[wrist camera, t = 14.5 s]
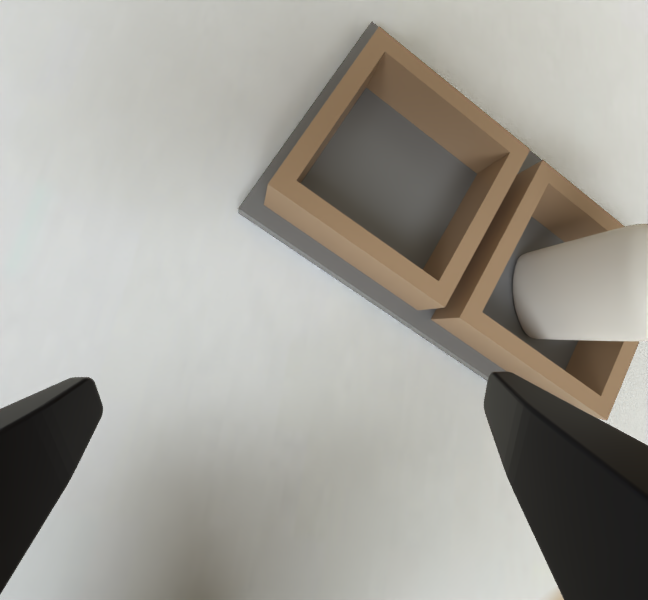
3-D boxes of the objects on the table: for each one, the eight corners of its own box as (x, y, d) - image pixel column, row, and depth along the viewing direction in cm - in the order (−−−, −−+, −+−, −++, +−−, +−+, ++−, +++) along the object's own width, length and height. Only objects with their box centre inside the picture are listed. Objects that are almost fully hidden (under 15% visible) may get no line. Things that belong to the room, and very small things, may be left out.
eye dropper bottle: (571, 272, 25) (861, 222, 13) (546, 348, 24) (834, 365, 12) (520, 243, 24) (780, 163, 13) (492, 320, 23) (746, 310, 12)
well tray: (635, 248, 28) (697, 235, 24) (556, 427, 25) (613, 444, 21) (367, 31, 24) (391, -24, 20) (238, 212, 21) (238, 187, 17)
